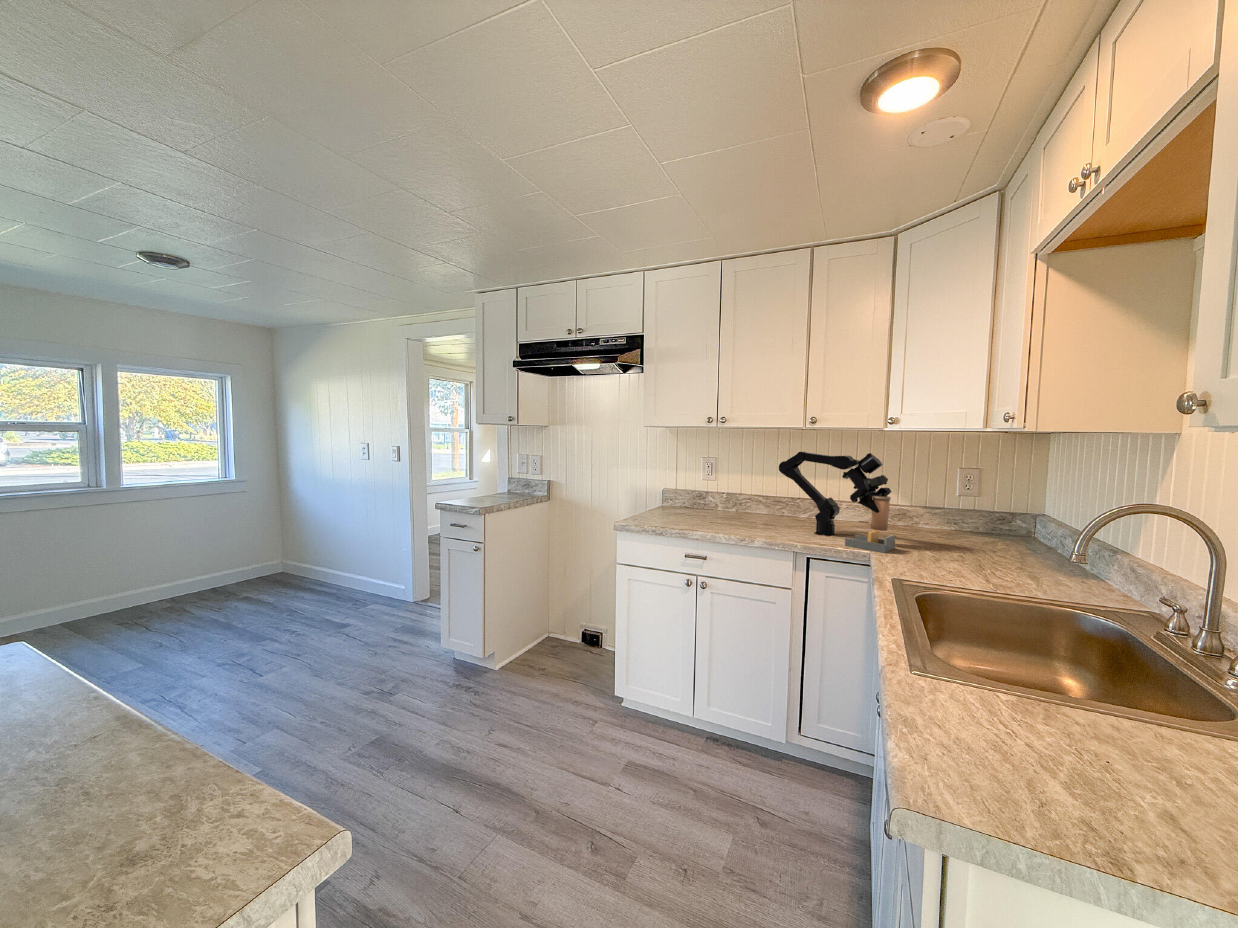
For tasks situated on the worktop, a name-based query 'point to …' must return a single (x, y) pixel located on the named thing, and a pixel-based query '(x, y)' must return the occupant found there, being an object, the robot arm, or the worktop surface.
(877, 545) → the tray
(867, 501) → the robot arm
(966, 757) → the worktop surface
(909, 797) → the worktop surface
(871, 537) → the block
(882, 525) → the terracotta jar
